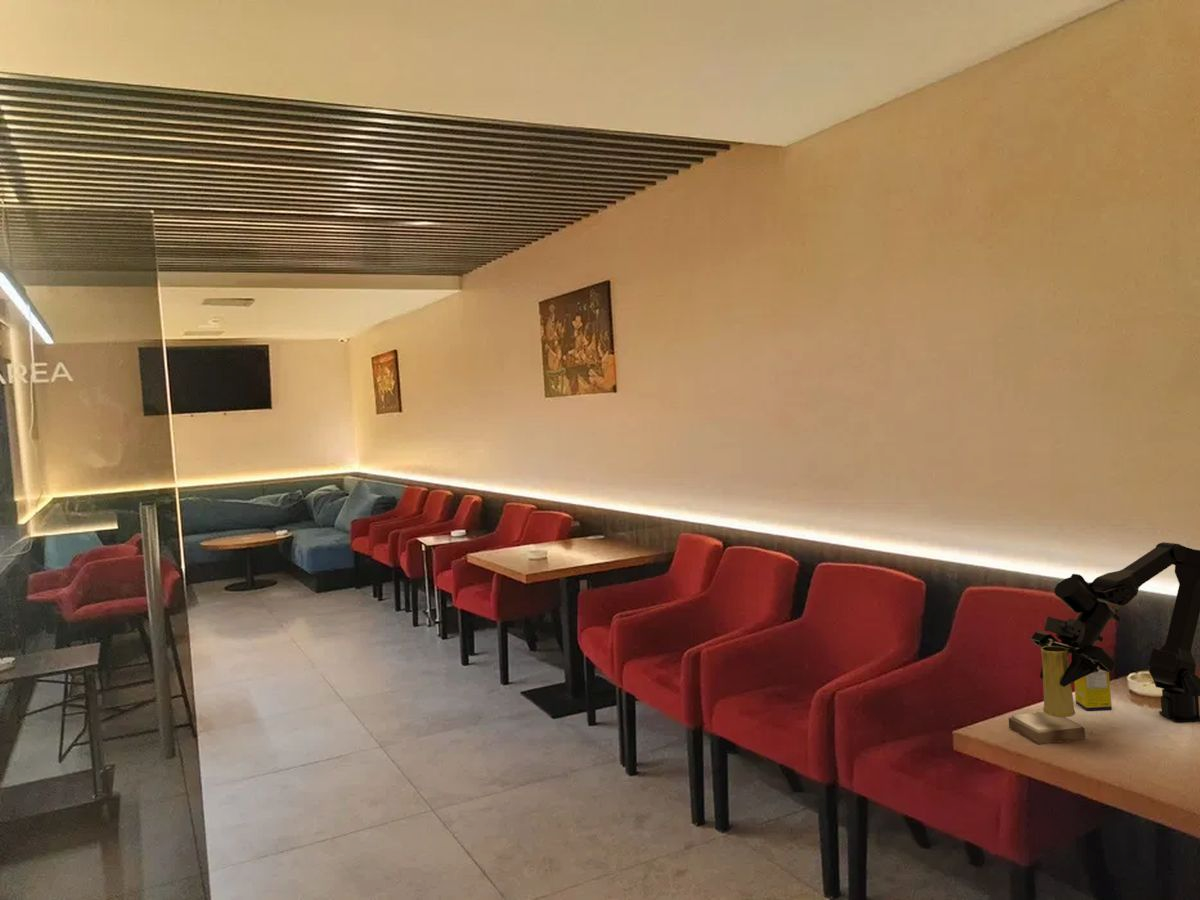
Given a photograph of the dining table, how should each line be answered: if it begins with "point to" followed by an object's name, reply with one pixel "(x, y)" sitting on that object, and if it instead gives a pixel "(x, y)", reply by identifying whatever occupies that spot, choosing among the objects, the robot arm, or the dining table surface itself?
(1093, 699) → the supplement box
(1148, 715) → the dining table surface
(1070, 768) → the dining table surface
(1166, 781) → the dining table surface
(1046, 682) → the vase
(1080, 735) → the stand
